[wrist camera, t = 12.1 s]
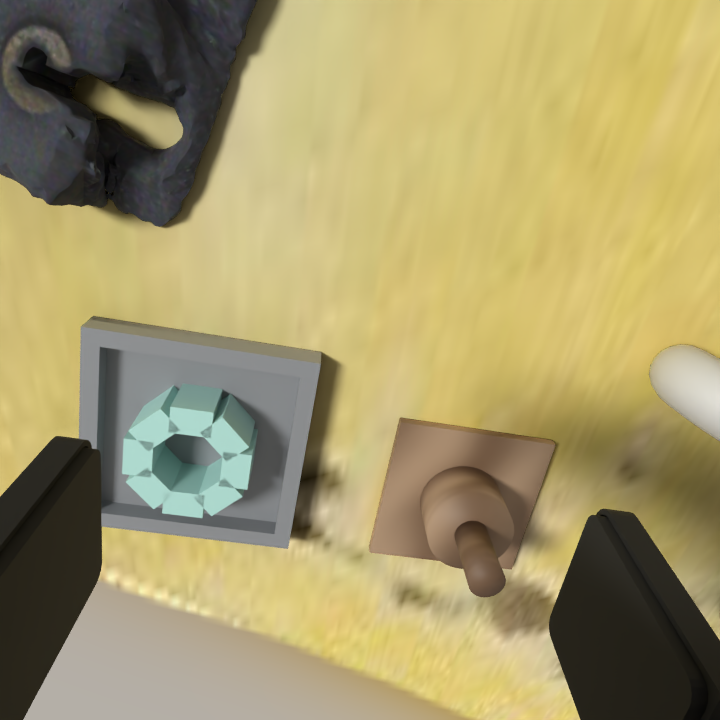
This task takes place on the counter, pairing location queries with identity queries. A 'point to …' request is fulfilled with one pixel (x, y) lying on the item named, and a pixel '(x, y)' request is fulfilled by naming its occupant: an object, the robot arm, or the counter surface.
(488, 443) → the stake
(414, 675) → the counter surface
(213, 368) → the tray
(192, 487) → the ring
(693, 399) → the donut
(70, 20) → the dark slate chunk
